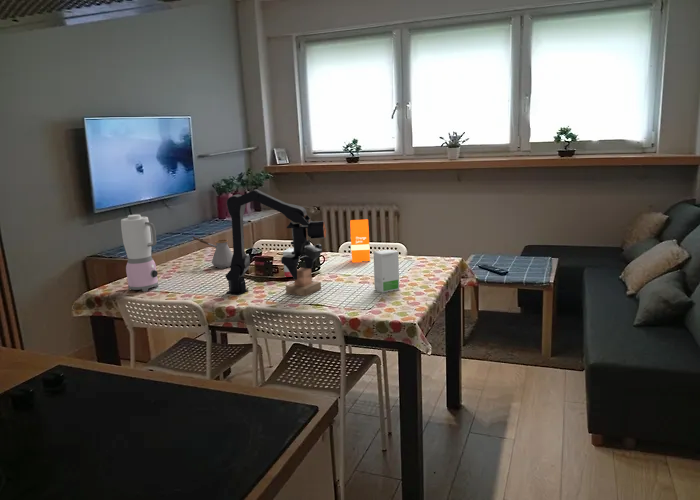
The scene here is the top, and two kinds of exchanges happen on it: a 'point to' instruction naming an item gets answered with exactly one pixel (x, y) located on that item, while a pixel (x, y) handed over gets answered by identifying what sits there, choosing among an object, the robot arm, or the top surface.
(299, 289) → the tan square slab
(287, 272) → the ink box
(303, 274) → the terracotta cube
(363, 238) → the orange juice
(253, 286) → the top surface
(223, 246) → the coffee pot
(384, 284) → the skincare box
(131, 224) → the blender
